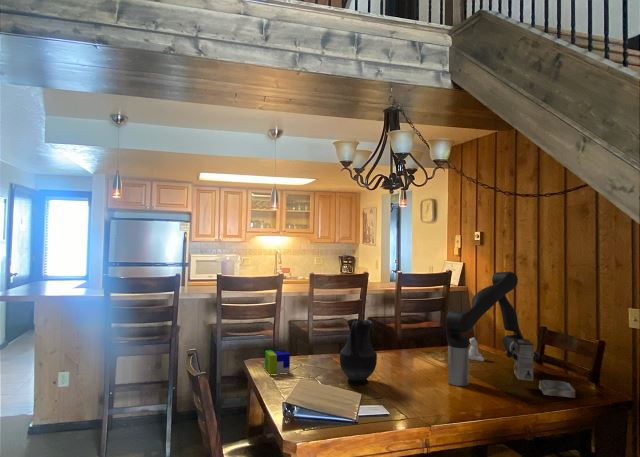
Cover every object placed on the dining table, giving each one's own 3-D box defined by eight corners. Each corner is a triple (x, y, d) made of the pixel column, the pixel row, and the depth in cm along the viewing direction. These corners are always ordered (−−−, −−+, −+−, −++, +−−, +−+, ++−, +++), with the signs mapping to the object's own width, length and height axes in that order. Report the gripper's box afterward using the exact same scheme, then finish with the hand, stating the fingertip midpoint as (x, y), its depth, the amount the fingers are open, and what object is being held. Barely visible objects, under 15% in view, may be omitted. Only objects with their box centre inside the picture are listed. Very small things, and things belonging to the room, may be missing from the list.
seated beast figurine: (484, 362, 235) (484, 339, 236) (468, 361, 237) (468, 339, 237) (481, 357, 245) (481, 336, 245) (465, 356, 246) (465, 335, 246)
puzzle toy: (289, 374, 213) (289, 353, 214) (270, 376, 210) (270, 355, 210) (283, 368, 223) (283, 349, 223) (264, 370, 219) (265, 350, 219)
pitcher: (379, 378, 207) (379, 315, 208) (372, 393, 187) (372, 323, 188) (343, 375, 212) (344, 313, 213) (333, 389, 192) (334, 321, 193)
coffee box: (513, 373, 198) (513, 338, 198) (528, 374, 196) (528, 339, 197) (518, 379, 189) (518, 343, 189) (534, 381, 187) (534, 343, 188)
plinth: (544, 395, 185) (544, 387, 185) (538, 386, 196) (538, 379, 196) (575, 398, 182) (575, 390, 182) (568, 389, 192) (568, 382, 192)
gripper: (502, 340, 207) (507, 348, 192) (535, 343, 203) (543, 351, 187) (502, 356, 207) (507, 365, 191) (535, 358, 203) (543, 369, 187)
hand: (524, 358), depth 189 cm, fingers closed on coffee box, 6 cm apart
